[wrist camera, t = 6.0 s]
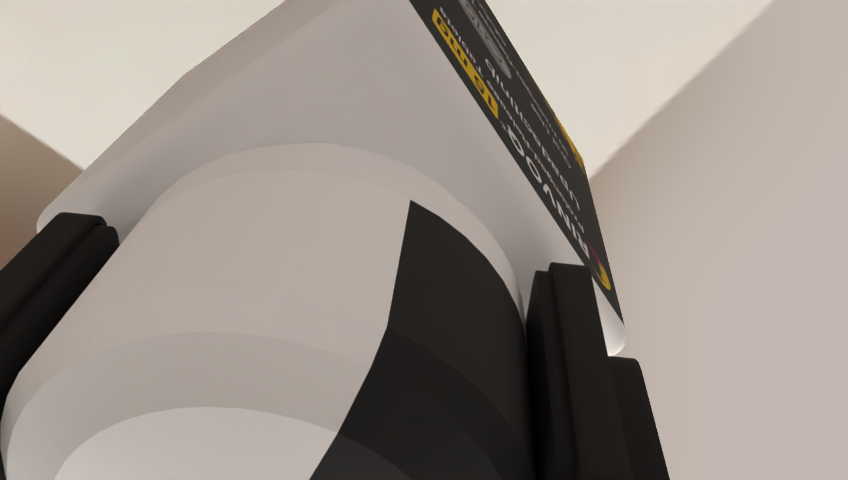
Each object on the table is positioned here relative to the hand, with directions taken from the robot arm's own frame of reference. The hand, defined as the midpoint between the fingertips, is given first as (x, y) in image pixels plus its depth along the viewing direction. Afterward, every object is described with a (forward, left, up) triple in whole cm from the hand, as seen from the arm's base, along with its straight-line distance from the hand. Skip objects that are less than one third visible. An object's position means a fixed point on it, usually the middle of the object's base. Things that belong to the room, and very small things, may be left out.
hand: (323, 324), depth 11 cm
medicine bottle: (0, 0, -8) cm, 8 cm away
